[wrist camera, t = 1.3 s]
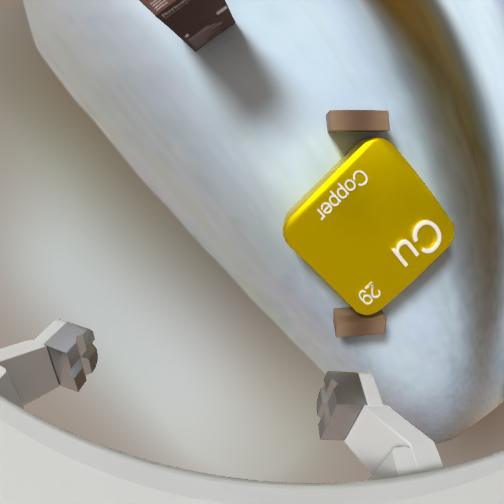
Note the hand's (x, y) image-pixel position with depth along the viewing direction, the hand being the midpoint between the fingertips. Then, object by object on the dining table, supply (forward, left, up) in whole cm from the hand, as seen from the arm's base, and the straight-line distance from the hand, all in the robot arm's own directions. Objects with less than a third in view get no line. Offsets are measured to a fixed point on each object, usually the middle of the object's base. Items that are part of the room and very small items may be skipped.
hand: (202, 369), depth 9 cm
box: (+5, -23, -26) cm, 35 cm away
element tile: (-11, +2, -27) cm, 29 cm away
